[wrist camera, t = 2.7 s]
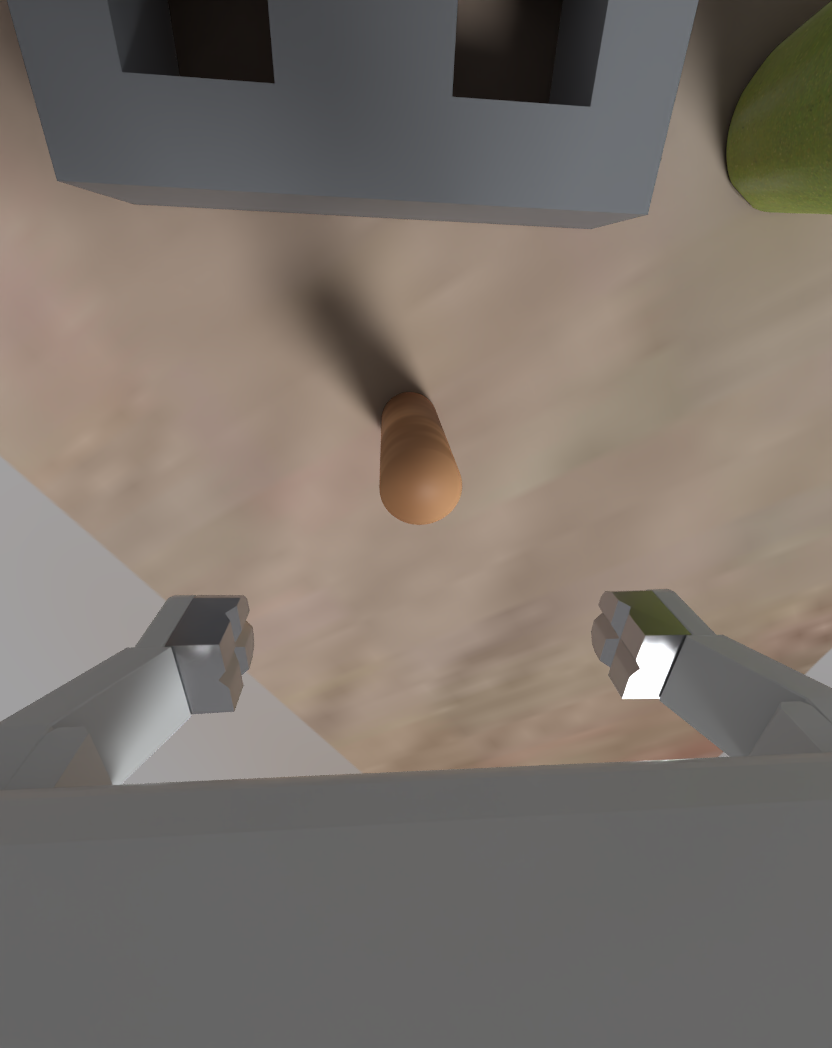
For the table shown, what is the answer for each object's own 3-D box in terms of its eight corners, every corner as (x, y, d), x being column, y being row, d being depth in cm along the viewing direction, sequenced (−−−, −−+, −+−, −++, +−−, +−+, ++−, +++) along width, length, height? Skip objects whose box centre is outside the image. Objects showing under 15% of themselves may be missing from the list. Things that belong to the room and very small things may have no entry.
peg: (438, 392, 23) (465, 449, 15) (435, 447, 25) (458, 525, 17) (381, 391, 23) (379, 447, 15) (381, 446, 25) (379, 524, 17)
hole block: (656, -115, 15) (763, -271, 11) (591, 229, 20) (647, 214, 16) (50, -182, 14) (-102, -392, 10) (133, 204, 19) (57, 180, 14)
